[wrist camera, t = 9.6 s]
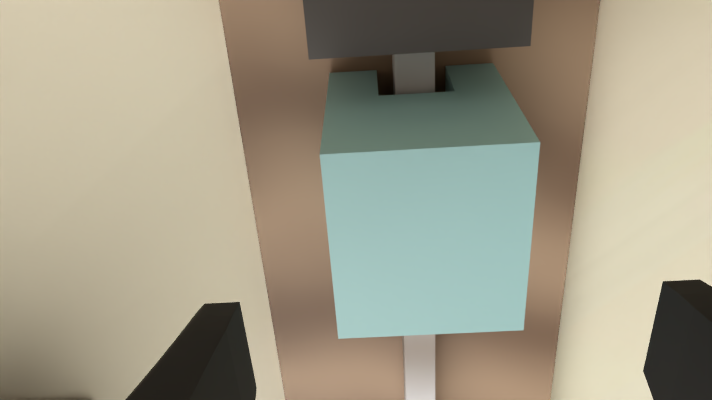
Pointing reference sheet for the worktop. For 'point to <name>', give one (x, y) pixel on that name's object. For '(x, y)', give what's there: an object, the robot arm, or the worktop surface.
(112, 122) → the worktop surface
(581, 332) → the worktop surface
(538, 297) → the track
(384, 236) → the block
